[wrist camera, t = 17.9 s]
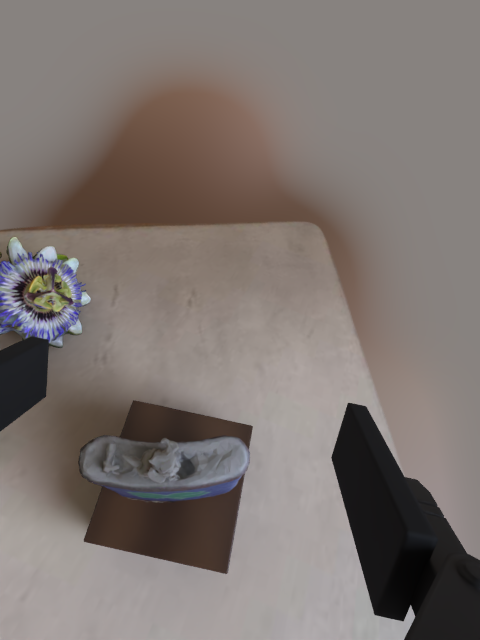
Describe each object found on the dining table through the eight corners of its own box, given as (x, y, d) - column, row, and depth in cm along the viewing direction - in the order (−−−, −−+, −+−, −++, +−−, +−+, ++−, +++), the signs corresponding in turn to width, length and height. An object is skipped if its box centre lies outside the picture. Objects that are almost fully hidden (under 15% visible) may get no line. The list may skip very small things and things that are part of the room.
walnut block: (245, 440, 34) (252, 425, 29) (223, 565, 29) (227, 574, 24) (143, 418, 34) (133, 399, 29) (104, 538, 29) (82, 541, 24)
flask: (237, 458, 27) (254, 426, 18) (238, 500, 26) (257, 489, 17) (115, 459, 27) (66, 427, 17) (109, 503, 25) (52, 494, 16)
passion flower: (88, 350, 43) (57, 377, 31) (-12, 334, 41) (-86, 357, 29) (105, 258, 42) (79, 249, 30) (3, 236, 40) (-66, 218, 28)
